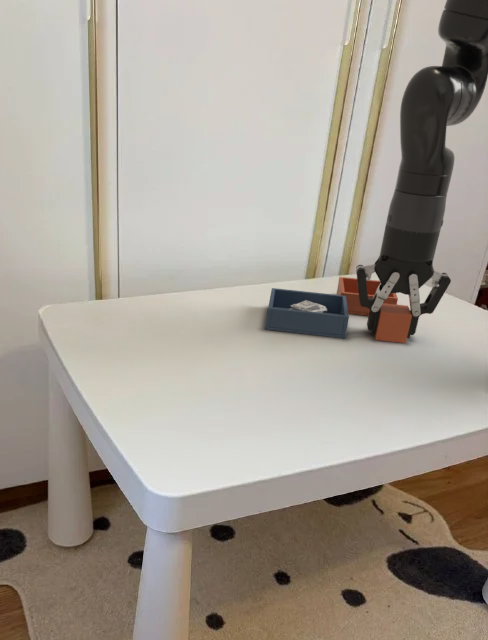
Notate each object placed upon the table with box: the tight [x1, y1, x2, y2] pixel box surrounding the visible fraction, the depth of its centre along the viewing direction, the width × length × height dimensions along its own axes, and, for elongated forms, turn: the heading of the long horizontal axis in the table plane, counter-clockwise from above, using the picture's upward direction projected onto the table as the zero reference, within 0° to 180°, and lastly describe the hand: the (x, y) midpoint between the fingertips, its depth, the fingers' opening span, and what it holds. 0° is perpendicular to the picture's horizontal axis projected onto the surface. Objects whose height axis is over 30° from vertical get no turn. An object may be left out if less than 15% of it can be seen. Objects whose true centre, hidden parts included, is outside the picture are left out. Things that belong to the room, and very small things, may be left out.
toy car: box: [290, 300, 327, 313], centre depth 101 cm, size 4×8×3 cm, turn 133°
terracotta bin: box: [335, 276, 399, 317], centre depth 109 cm, size 9×9×4 cm
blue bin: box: [265, 287, 350, 339], centre depth 101 cm, size 12×10×4 cm
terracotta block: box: [374, 303, 412, 344], centre depth 98 cm, size 4×4×4 cm
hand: (389, 334), depth 98 cm, fingers closed on terracotta block, 4 cm apart
